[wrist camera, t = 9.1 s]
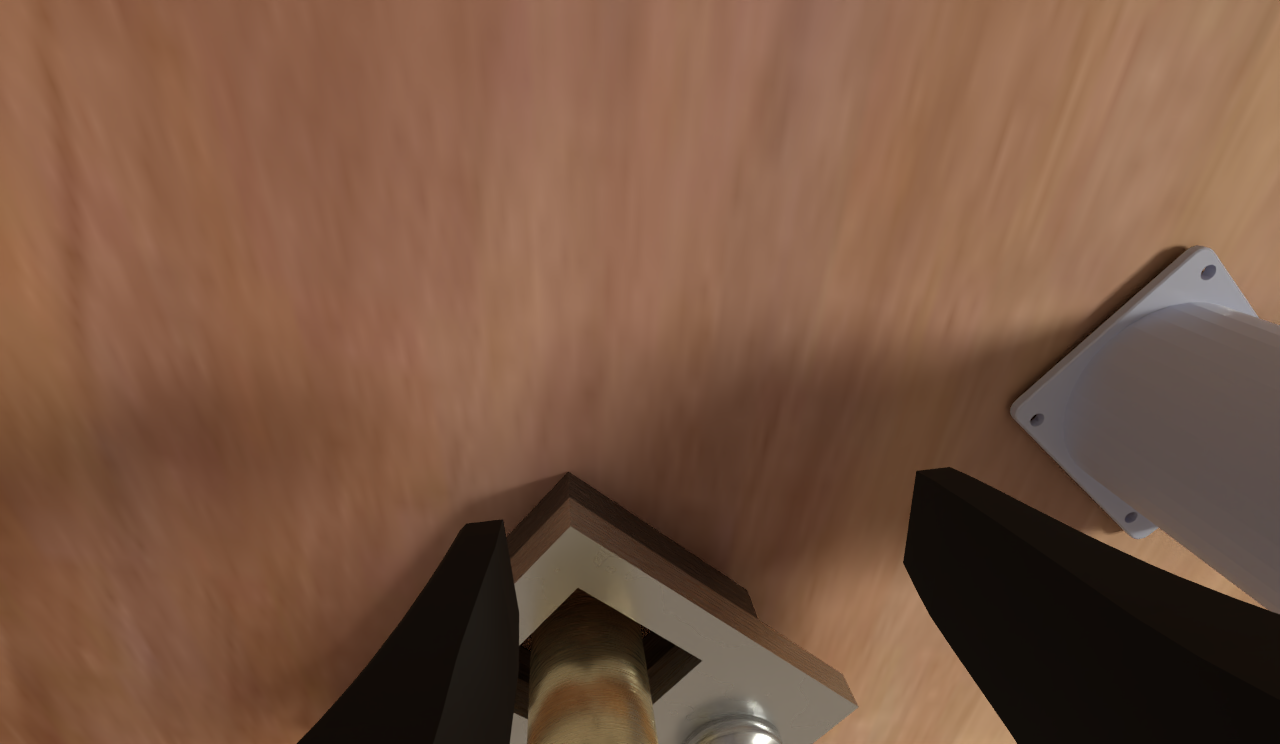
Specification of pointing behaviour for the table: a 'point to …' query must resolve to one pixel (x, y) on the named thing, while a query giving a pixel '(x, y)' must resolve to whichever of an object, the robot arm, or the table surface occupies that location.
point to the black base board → (635, 529)
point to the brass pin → (589, 677)
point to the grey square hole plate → (679, 640)
